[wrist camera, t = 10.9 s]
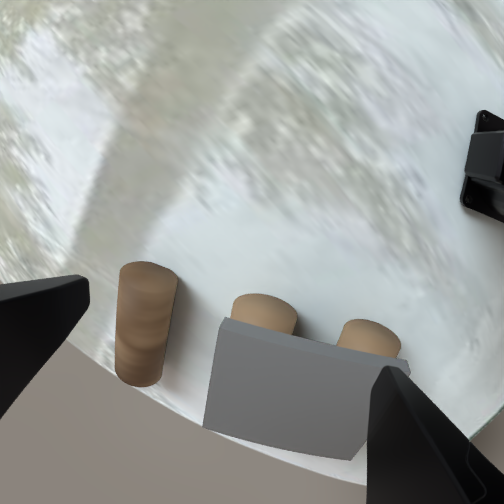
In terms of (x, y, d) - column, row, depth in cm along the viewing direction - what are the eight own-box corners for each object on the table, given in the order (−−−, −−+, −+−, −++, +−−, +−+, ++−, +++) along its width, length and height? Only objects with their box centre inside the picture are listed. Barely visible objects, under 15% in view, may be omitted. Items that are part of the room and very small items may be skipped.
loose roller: (185, 273, 22) (164, 299, 18) (168, 364, 25) (150, 394, 21) (137, 256, 22) (108, 277, 18) (127, 347, 25) (106, 373, 22)
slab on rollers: (394, 326, 20) (410, 372, 15) (349, 412, 23) (350, 460, 18) (241, 287, 21) (218, 328, 16) (222, 382, 24) (202, 427, 19)
